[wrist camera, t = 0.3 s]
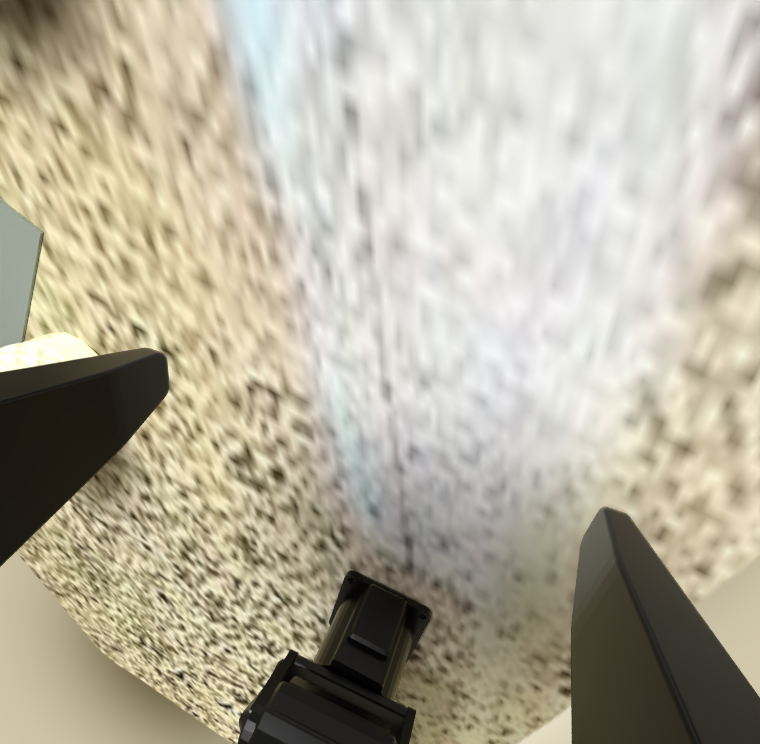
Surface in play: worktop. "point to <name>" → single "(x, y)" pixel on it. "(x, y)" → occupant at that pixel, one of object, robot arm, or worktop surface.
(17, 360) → the white cup
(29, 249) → the mat
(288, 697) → the robot arm
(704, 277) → the worktop surface
